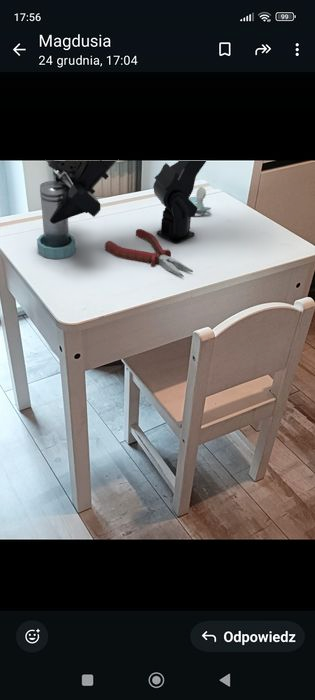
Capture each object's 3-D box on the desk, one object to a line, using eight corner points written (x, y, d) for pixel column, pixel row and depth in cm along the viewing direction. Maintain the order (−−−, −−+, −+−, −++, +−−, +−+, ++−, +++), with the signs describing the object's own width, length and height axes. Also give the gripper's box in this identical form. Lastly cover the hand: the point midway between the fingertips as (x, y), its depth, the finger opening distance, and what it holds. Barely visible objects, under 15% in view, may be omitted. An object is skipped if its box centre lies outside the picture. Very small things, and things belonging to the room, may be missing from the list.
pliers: (168, 288, 114) (169, 277, 112) (102, 251, 124) (102, 240, 123) (205, 270, 120) (207, 259, 119) (139, 236, 131) (140, 225, 129)
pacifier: (192, 220, 138) (213, 215, 141) (194, 196, 134) (215, 191, 137) (177, 208, 143) (198, 204, 146) (179, 184, 139) (199, 180, 142)
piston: (53, 236, 124) (49, 178, 116) (74, 242, 123) (71, 184, 115) (39, 246, 120) (34, 187, 112) (61, 252, 119) (57, 193, 111)
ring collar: (59, 238, 127) (58, 228, 125) (82, 251, 123) (82, 241, 121) (30, 249, 122) (29, 239, 121) (53, 262, 118) (52, 252, 117)
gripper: (58, 117, 115) (9, 175, 119) (82, 148, 102) (26, 212, 105) (97, 153, 122) (49, 206, 126) (123, 186, 109) (70, 245, 112)
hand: (48, 216), depth 117 cm, fingers closed on piston, 5 cm apart
